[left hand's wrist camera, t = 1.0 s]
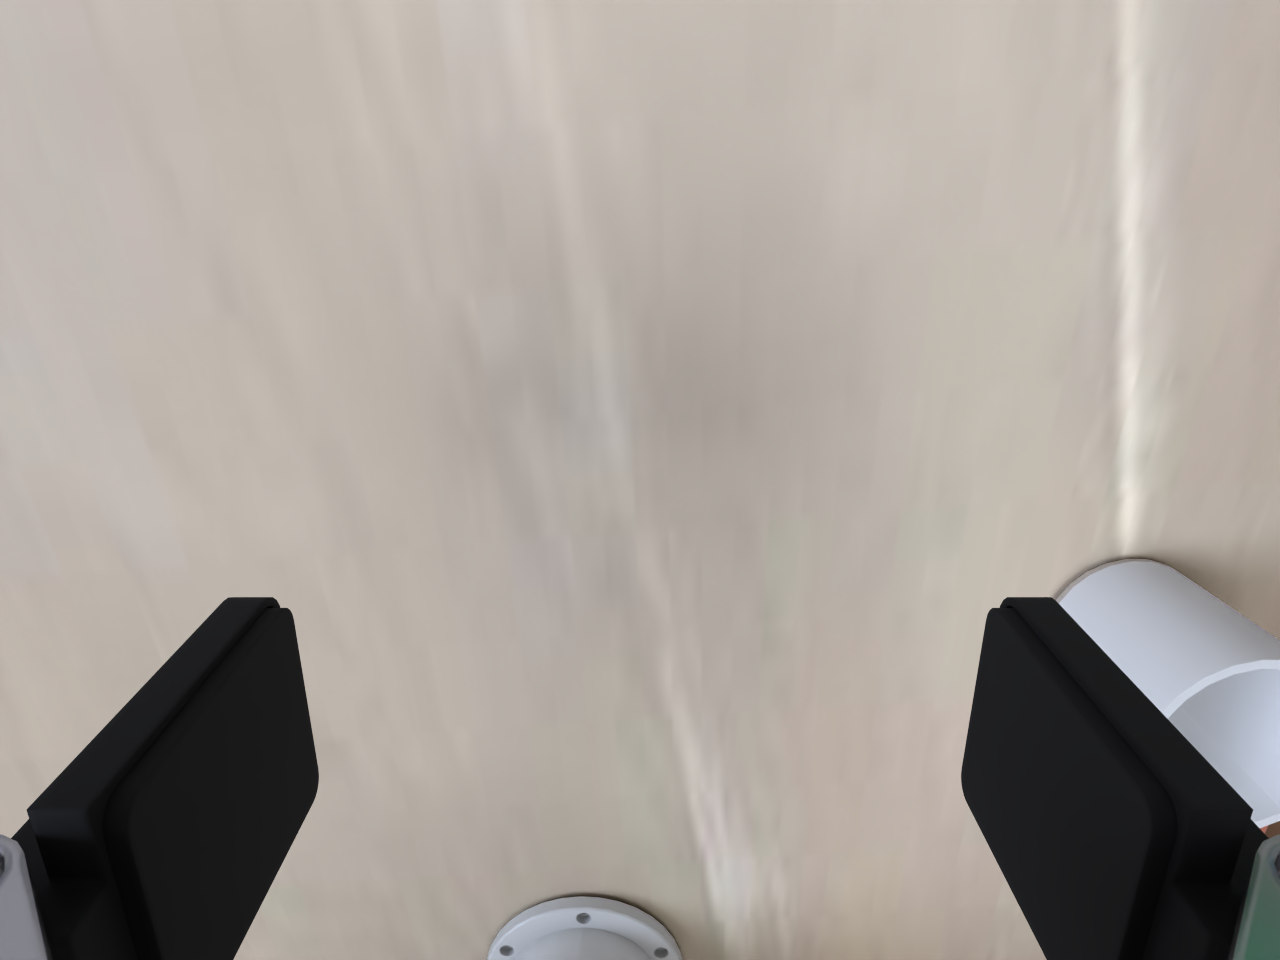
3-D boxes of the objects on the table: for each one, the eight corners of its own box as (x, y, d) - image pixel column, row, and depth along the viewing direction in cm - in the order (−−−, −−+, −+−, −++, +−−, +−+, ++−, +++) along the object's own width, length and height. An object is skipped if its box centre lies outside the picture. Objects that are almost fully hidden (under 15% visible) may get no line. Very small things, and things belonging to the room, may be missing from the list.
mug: (1129, 516, 43) (1270, 619, 33) (1239, 612, 45) (1401, 736, 35) (970, 661, 46) (1057, 794, 37) (1080, 745, 48) (1190, 892, 38)
